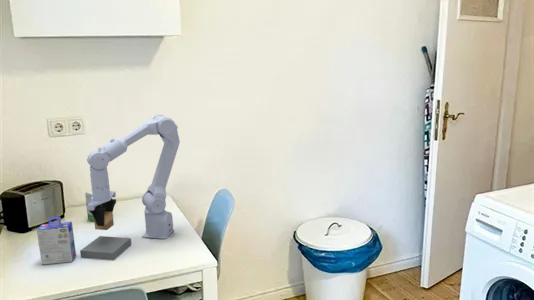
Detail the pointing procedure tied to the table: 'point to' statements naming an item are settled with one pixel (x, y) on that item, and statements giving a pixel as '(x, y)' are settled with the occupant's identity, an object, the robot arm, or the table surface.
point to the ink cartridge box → (56, 242)
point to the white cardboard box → (88, 196)
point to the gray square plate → (105, 248)
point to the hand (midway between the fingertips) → (104, 222)
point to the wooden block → (106, 221)
